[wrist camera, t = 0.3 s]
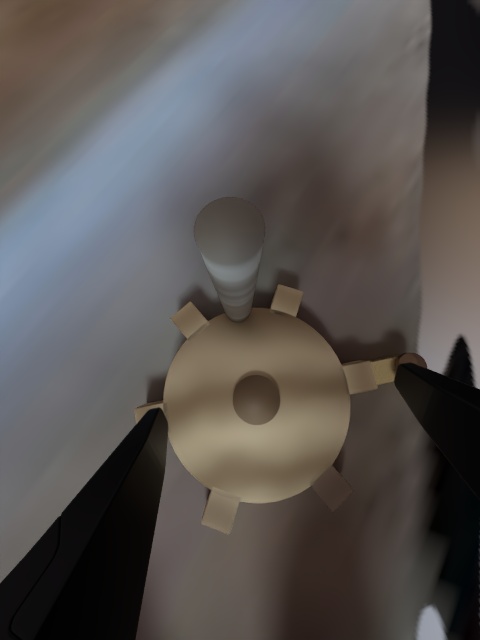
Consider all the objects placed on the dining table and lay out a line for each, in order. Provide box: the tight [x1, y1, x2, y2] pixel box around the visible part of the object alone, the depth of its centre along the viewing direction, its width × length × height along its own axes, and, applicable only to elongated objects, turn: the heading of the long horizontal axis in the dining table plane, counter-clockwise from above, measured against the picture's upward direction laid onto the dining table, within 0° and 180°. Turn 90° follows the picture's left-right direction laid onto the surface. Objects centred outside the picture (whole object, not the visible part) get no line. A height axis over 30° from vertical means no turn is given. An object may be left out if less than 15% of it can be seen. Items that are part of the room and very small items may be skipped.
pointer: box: [368, 353, 427, 385], centre depth 20 cm, size 5×2×2 cm, turn 101°
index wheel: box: [134, 197, 378, 535], centre depth 14 cm, size 19×21×15 cm
